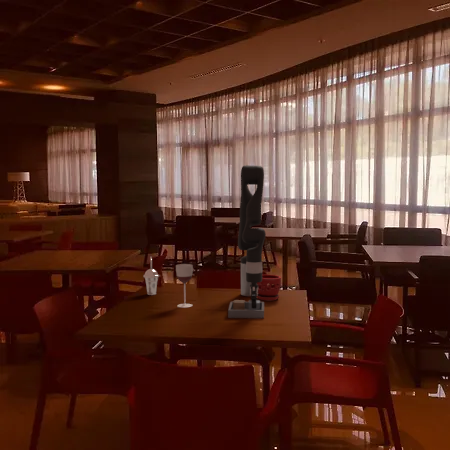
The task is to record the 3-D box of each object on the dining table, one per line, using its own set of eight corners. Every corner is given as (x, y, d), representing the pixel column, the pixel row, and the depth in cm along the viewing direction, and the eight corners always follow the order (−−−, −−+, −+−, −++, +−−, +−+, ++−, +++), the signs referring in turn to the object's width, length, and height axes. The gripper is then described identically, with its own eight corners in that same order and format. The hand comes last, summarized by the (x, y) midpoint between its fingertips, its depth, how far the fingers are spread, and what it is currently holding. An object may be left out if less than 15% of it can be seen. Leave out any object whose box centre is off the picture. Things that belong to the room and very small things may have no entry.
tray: (230, 308, 247) (230, 301, 246) (264, 309, 245) (264, 302, 245) (228, 317, 231) (228, 310, 230) (263, 318, 229) (263, 310, 229)
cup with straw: (141, 295, 276) (140, 258, 274) (148, 291, 285) (147, 256, 283) (155, 296, 274) (154, 259, 272) (162, 292, 282) (161, 256, 280)
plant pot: (281, 301, 259) (282, 278, 258) (255, 301, 260) (255, 278, 259) (279, 295, 272) (279, 273, 271) (255, 295, 273) (255, 273, 272)
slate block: (249, 310, 240) (249, 300, 240) (259, 310, 240) (259, 300, 239) (248, 313, 235) (248, 302, 235) (259, 313, 235) (259, 303, 235)
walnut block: (234, 310, 241) (234, 300, 241) (244, 310, 241) (244, 300, 240) (233, 313, 236) (233, 302, 236) (244, 313, 236) (244, 302, 235)
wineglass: (173, 306, 252) (172, 266, 250) (182, 302, 259) (182, 263, 257) (187, 308, 248) (186, 267, 246) (196, 304, 255) (195, 264, 254)
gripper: (262, 274, 229) (262, 309, 230) (262, 268, 243) (262, 302, 244) (245, 274, 229) (245, 309, 231) (246, 268, 243) (246, 301, 245)
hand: (254, 305), depth 237 cm, fingers open, 8 cm apart
